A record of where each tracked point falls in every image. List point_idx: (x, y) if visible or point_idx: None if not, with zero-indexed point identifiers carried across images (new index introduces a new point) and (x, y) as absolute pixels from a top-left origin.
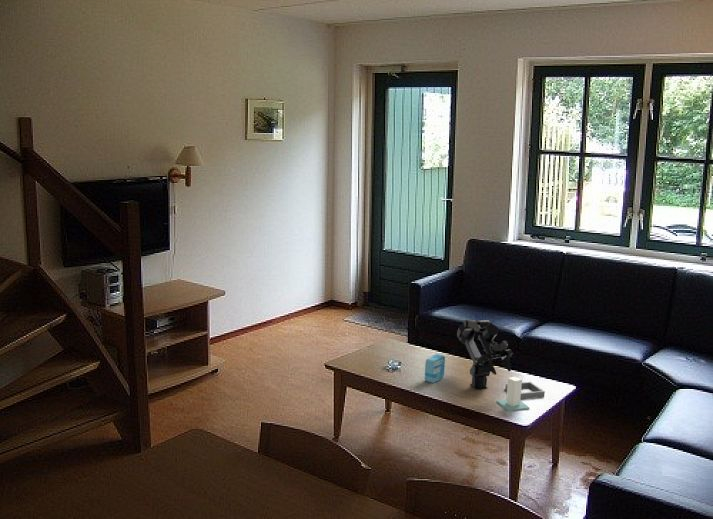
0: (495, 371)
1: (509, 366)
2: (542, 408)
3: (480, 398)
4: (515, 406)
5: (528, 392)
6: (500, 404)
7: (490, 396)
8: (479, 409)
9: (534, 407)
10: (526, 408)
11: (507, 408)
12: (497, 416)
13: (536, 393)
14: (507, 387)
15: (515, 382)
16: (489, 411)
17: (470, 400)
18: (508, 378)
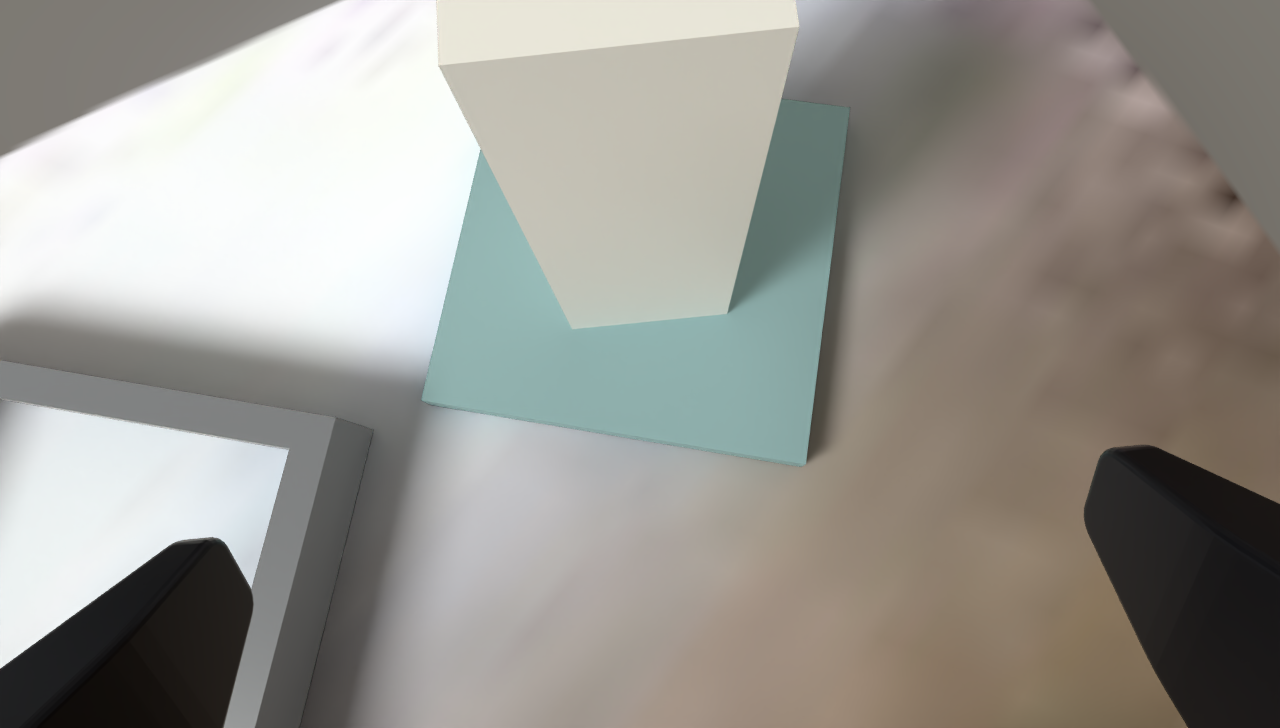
0: (1215, 503)
1: (25, 686)
2: (319, 38)
3: (983, 717)
4: None
5: (133, 409)
6: (819, 339)
7: (752, 720)
8: (1242, 333)
9: (394, 100)
10: None
11: (834, 146)
12: (1096, 46)
13: (22, 366)
14: (756, 187)
15: None
16: (1121, 218)
17: None
18: (792, 16)
